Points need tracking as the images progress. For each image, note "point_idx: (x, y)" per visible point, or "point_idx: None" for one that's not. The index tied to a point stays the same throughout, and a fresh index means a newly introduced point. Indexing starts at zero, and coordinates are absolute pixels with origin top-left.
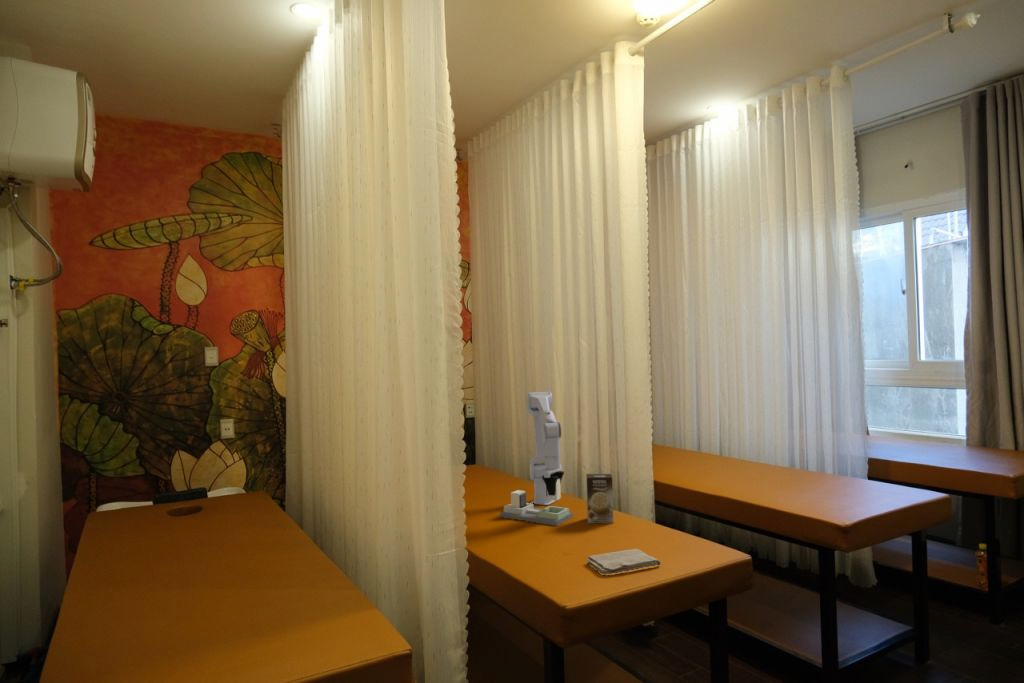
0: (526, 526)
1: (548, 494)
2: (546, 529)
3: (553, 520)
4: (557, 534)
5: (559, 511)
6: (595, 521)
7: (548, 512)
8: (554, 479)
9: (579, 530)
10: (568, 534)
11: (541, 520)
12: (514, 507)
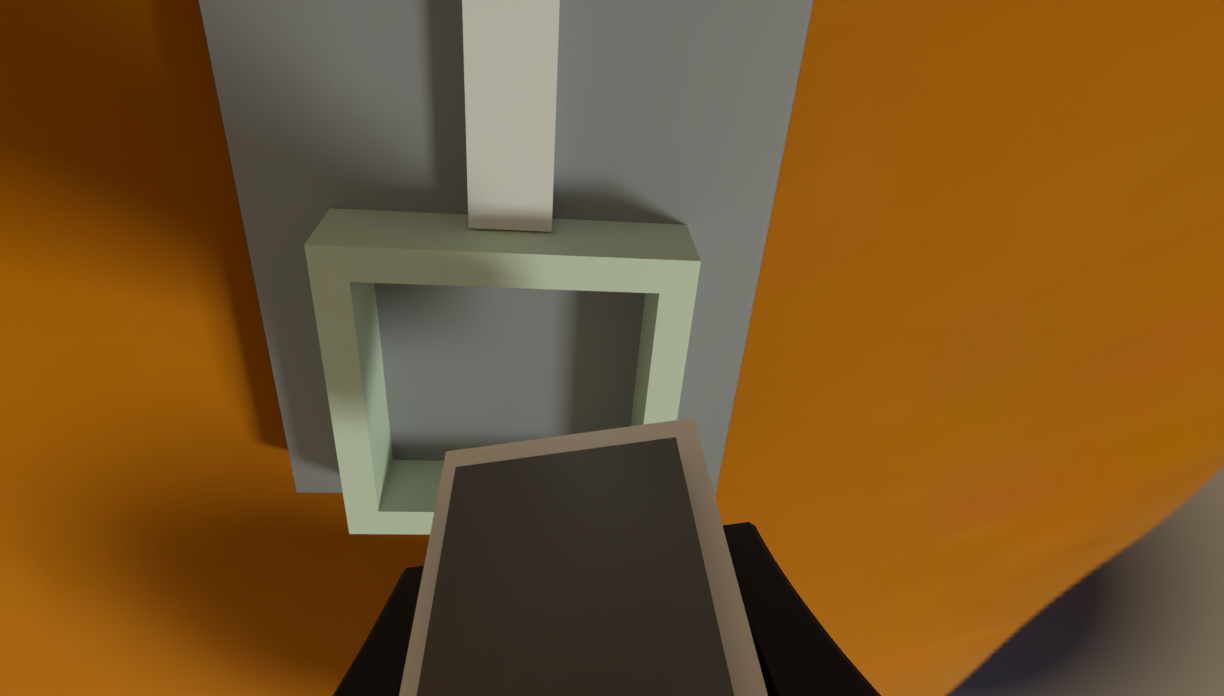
0: (25, 141)
1: (436, 550)
2: (125, 421)
3: (312, 448)
4: (75, 568)
5: (637, 400)
6: None
7: (349, 406)
8: None
9: (317, 655)
10: (152, 633)
11: (265, 292)
12: None
